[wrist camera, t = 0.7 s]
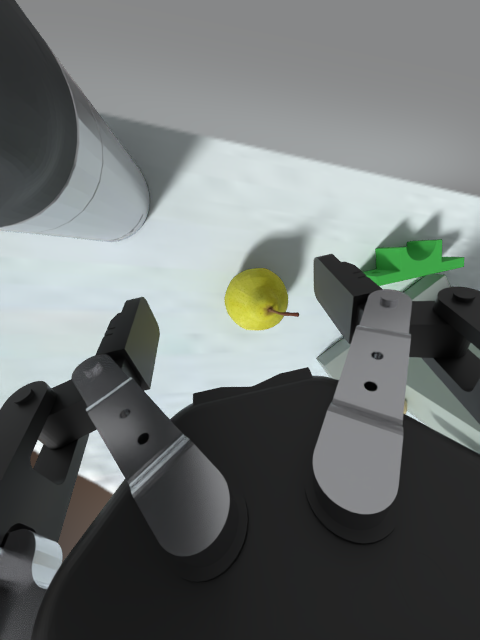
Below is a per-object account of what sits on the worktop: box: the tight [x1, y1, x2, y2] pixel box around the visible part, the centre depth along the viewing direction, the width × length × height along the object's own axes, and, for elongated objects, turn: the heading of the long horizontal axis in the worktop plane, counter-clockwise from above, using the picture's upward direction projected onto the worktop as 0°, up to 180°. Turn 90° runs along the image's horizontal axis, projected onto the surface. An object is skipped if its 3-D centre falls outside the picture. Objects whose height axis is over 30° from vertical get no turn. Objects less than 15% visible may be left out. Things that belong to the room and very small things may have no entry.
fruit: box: [225, 268, 299, 330], centre depth 27 cm, size 7×7×12 cm
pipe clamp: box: [363, 239, 464, 286], centre depth 32 cm, size 11×4×5 cm, turn 101°
